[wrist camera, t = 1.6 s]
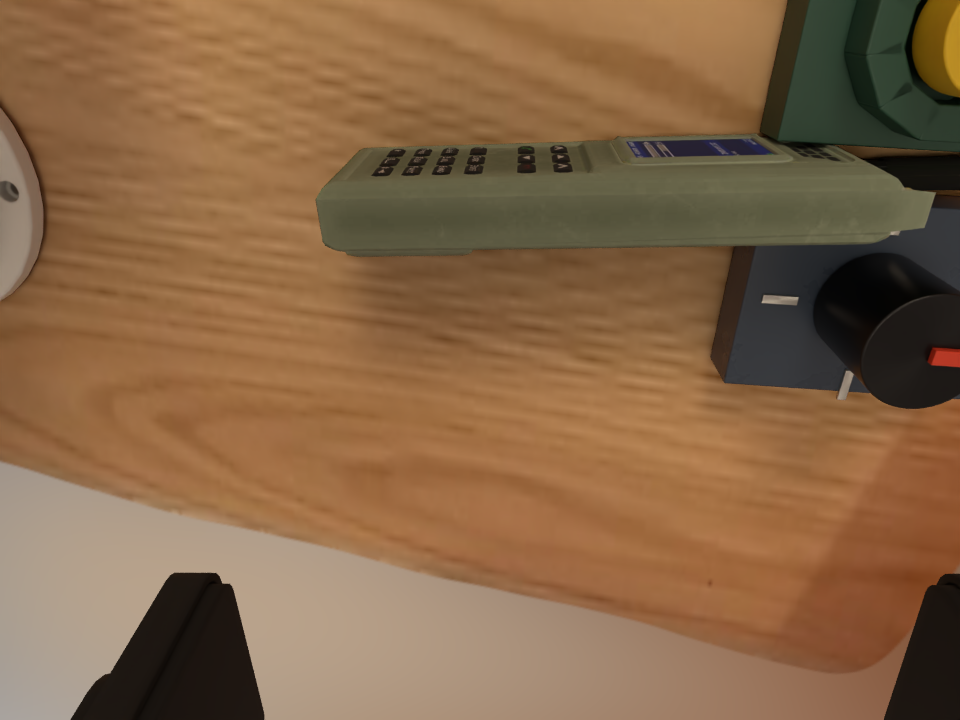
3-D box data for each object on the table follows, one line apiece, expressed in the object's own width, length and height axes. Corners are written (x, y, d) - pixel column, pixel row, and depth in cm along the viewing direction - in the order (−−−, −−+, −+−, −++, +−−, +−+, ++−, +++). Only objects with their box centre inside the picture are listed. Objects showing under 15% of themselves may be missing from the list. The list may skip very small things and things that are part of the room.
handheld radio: (353, 135, 30) (977, 120, 28) (362, 213, 31) (954, 202, 30) (311, 173, 24) (1099, 157, 22) (324, 267, 25) (1062, 257, 24)
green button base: (759, 131, 28) (793, 150, 24) (811, -109, 24) (861, -129, 21) (1015, 147, 28) (1088, 167, 24) (1106, -93, 24) (1207, -111, 21)
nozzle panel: (708, 363, 33) (722, 391, 30) (749, 175, 29) (770, 190, 26) (927, 378, 32) (960, 408, 30) (999, 190, 29) (1042, 207, 26)
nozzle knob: (800, 351, 29) (848, 409, 25) (829, 248, 27) (886, 293, 23) (908, 358, 29) (974, 418, 25) (944, 256, 27) (1023, 302, 23)
